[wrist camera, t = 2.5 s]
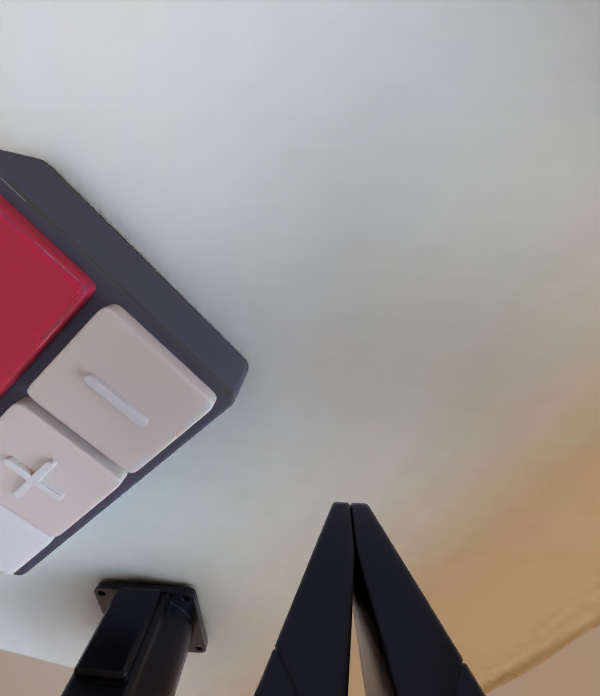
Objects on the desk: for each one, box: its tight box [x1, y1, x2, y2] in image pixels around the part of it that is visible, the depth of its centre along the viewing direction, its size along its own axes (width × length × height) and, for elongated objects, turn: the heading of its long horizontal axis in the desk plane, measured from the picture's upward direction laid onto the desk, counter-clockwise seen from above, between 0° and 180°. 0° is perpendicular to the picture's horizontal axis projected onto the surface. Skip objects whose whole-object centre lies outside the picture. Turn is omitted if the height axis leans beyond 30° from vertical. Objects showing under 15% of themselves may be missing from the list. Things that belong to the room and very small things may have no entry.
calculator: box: [0, 150, 248, 575], centre depth 14 cm, size 11×4×15 cm
